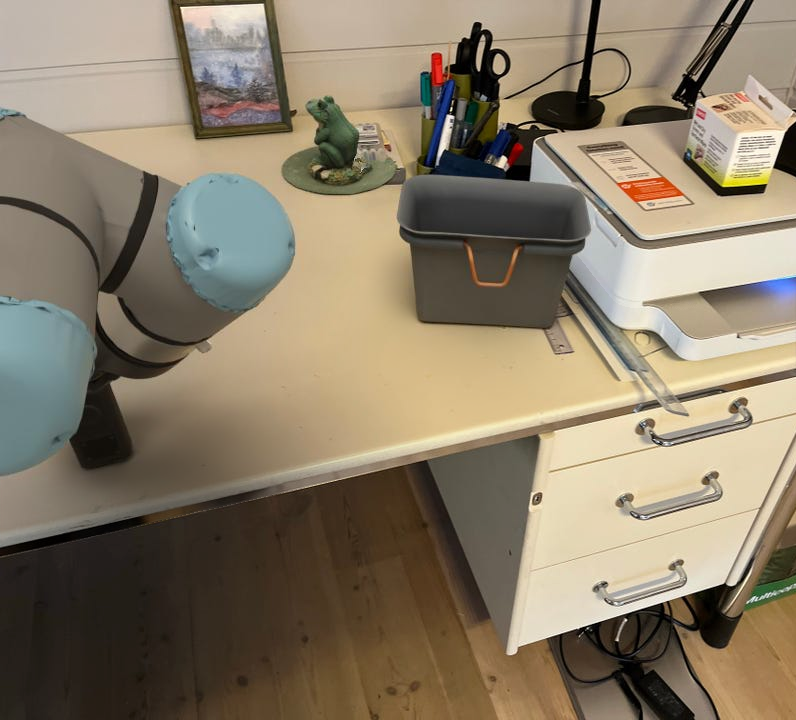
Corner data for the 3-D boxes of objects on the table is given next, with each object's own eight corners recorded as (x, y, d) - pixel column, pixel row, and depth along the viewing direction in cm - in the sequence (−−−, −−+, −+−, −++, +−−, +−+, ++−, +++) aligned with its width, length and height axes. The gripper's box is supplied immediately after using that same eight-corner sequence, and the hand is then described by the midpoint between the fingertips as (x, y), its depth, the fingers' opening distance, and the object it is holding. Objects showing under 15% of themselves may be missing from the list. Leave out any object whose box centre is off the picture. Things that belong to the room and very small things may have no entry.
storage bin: (567, 279, 99) (582, 180, 90) (578, 355, 87) (597, 250, 78) (405, 272, 98) (404, 172, 89) (395, 347, 87) (392, 241, 77)
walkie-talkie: (131, 435, 74) (85, 314, 64) (133, 460, 71) (86, 338, 62) (77, 448, 72) (22, 326, 62) (78, 474, 70) (21, 351, 60)
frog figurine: (321, 136, 129) (315, 67, 121) (415, 159, 124) (414, 89, 116) (258, 178, 116) (247, 104, 108) (360, 206, 111) (355, 131, 104)
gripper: (83, 433, 48) (2, 495, 64) (269, 296, 61) (163, 376, 77) (-2, 341, 47) (-63, 428, 63) (207, 219, 59) (112, 318, 75)
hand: (61, 400), depth 70 cm, fingers closed on walkie-talkie, 5 cm apart
